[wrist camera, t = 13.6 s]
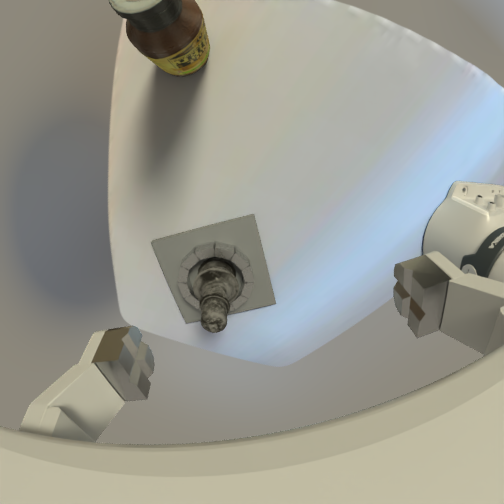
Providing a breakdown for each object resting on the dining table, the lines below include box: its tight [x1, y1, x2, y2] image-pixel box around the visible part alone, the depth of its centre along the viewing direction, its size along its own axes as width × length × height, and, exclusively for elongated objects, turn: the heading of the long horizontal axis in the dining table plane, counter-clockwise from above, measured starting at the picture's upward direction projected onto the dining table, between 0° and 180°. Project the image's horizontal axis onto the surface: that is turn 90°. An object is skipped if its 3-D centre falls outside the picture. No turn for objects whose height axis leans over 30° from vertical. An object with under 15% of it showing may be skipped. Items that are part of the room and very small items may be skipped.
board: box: [151, 214, 276, 323], centre depth 41 cm, size 14×14×1 cm
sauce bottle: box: [109, 0, 210, 76], centre depth 19 cm, size 6×6×20 cm
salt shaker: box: [193, 257, 239, 333], centre depth 35 cm, size 6×6×12 cm
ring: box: [177, 241, 254, 311], centre depth 40 cm, size 10×10×2 cm
